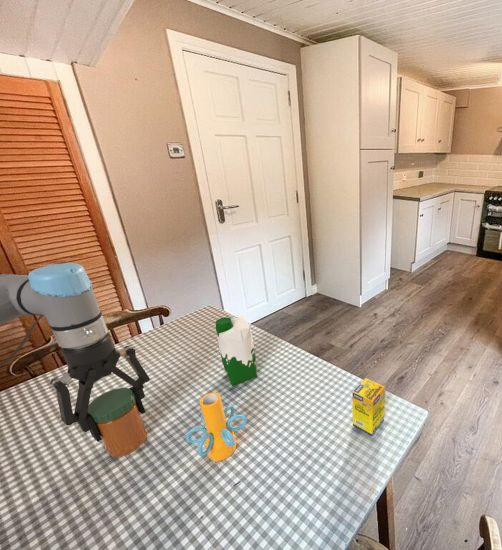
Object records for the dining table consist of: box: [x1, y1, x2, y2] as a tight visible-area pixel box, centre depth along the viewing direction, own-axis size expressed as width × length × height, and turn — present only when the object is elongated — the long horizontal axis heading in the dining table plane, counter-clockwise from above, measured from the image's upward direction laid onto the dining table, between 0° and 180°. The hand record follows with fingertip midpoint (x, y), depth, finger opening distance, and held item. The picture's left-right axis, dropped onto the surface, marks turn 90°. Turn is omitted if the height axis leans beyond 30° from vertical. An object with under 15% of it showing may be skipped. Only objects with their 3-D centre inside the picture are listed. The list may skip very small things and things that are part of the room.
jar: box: [94, 402, 148, 458], centre depth 69 cm, size 8×8×12 cm
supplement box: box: [351, 378, 386, 437], centre depth 74 cm, size 6×6×11 cm
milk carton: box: [214, 315, 258, 387], centre depth 89 cm, size 9×9×20 cm
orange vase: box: [185, 392, 248, 462], centre depth 67 cm, size 12×10×15 cm
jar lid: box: [87, 387, 136, 423], centre depth 67 cm, size 8×8×2 cm
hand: (120, 423), depth 69 cm, fingers closed on jar lid, 8 cm apart
